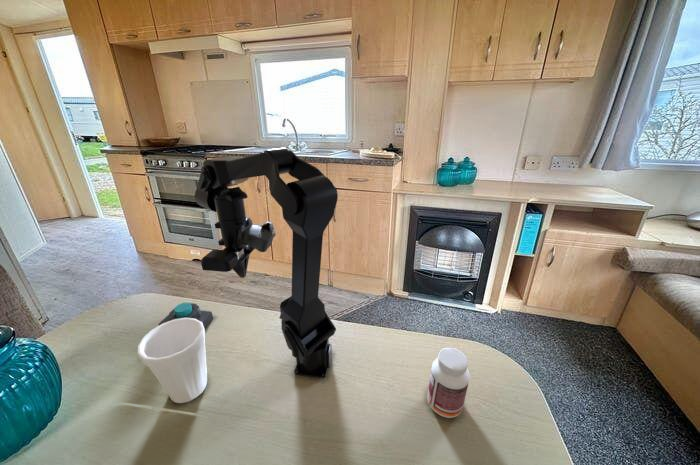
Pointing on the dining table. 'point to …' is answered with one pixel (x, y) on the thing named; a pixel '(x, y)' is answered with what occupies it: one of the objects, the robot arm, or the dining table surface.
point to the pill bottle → (448, 383)
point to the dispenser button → (183, 310)
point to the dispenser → (192, 315)
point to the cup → (177, 357)
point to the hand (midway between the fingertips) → (243, 276)
